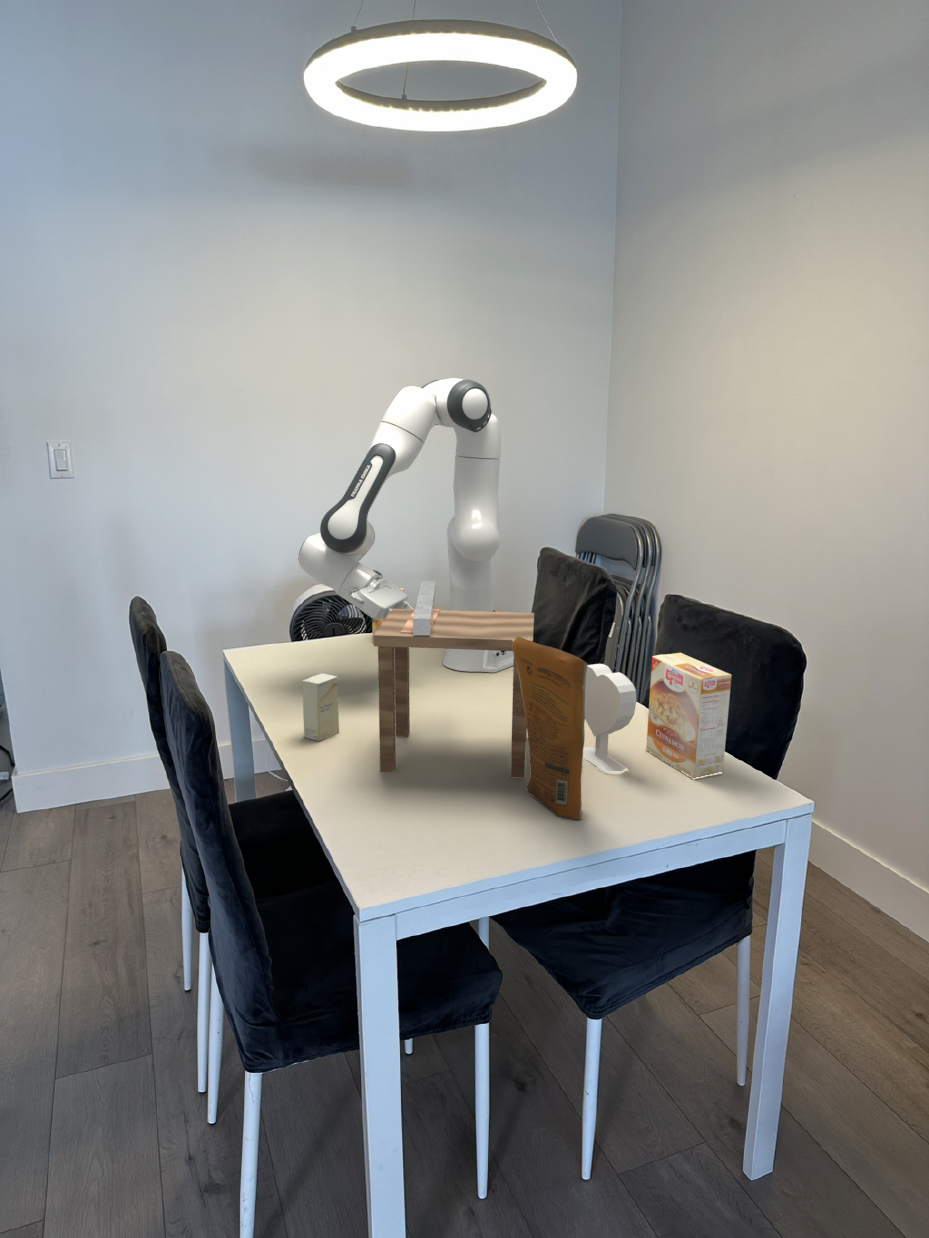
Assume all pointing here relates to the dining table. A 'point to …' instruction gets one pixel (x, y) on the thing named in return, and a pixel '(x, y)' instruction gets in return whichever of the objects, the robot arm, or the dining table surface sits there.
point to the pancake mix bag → (553, 723)
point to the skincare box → (320, 706)
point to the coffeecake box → (688, 714)
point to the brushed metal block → (424, 608)
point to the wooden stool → (445, 634)
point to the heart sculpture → (606, 711)
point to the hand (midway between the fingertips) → (411, 619)
